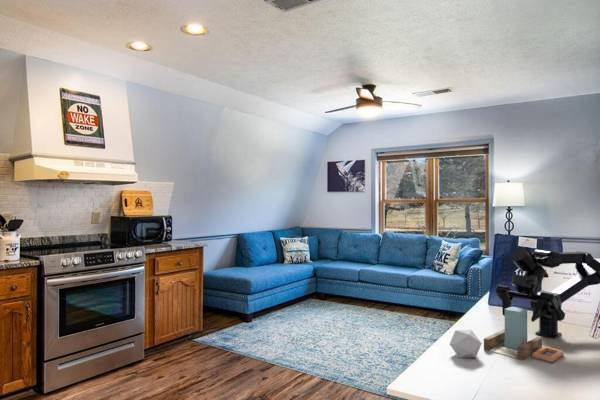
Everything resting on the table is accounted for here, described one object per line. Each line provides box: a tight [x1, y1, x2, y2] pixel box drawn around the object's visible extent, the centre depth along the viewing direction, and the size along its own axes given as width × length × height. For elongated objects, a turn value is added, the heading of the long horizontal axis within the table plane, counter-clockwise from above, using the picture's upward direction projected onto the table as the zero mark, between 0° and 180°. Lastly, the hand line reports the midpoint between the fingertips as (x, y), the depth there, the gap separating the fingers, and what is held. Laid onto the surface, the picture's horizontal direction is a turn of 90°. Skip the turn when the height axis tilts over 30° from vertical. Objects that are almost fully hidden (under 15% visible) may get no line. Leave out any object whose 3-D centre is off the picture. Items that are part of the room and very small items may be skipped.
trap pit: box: [531, 345, 565, 364], centre depth 130 cm, size 9×6×2 cm, turn 129°
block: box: [504, 305, 528, 350], centre depth 139 cm, size 5×5×12 cm
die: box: [449, 329, 483, 359], centre depth 132 cm, size 8×9×10 cm
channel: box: [483, 328, 543, 361], centre depth 137 cm, size 14×12×4 cm
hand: (517, 317), depth 140 cm, fingers open, 9 cm apart
